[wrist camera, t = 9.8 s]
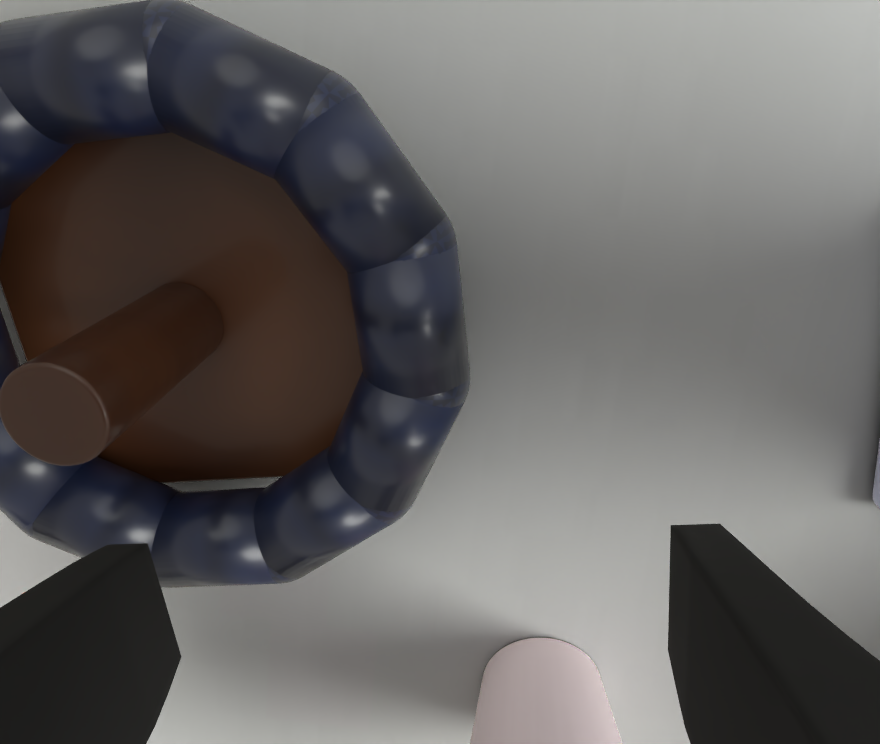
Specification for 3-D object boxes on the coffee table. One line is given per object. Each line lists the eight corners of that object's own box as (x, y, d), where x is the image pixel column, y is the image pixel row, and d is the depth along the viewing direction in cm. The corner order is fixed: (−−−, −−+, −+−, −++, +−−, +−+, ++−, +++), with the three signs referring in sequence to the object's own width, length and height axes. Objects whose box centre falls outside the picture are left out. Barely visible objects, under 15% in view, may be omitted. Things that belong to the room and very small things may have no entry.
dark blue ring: (433, -29, 14) (420, -51, 12) (490, 537, 19) (488, 597, 17) (-164, 55, 16) (-275, 48, 13) (29, 557, 20) (-29, 614, 18)
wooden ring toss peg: (344, 104, 16) (246, 112, 10) (395, 450, 20) (345, 617, 13) (-13, 147, 17) (-300, 178, 11) (92, 468, 21) (-85, 631, 14)
